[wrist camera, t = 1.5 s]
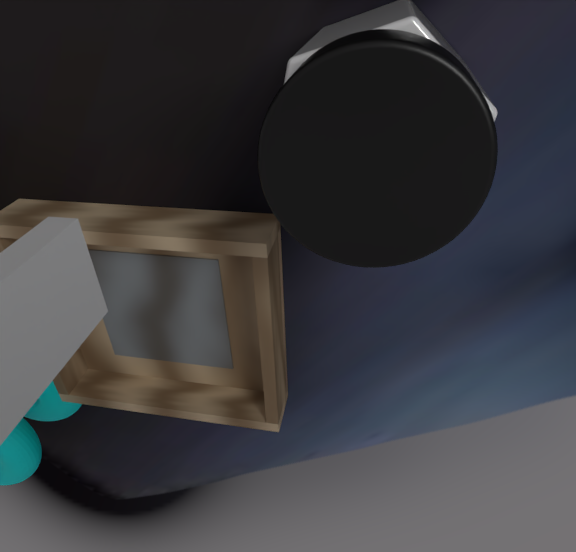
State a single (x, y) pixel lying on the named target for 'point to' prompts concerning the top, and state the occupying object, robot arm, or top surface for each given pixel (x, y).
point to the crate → (177, 311)
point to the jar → (377, 141)
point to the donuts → (31, 437)
